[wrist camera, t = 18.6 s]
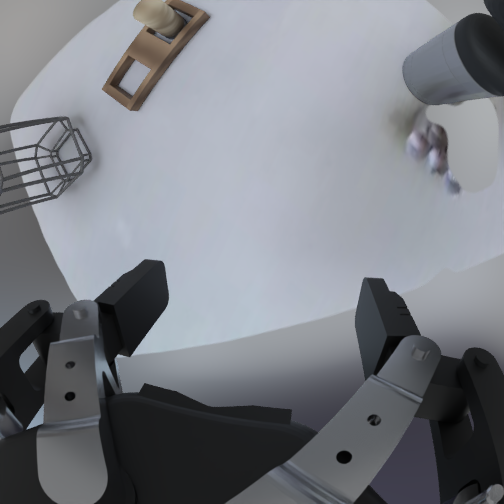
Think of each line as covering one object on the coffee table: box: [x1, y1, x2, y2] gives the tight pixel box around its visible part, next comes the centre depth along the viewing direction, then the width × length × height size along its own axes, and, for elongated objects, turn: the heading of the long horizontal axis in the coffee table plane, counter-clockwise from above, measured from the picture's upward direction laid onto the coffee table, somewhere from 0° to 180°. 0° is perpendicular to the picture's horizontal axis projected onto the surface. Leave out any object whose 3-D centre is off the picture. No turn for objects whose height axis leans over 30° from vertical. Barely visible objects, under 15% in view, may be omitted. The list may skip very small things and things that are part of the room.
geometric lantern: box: [0, 117, 91, 214], centre depth 29 cm, size 16×16×35 cm
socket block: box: [102, 0, 210, 111], centre depth 35 cm, size 20×8×2 cm, turn 140°
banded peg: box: [133, 0, 188, 39], centre depth 29 cm, size 4×4×10 cm
